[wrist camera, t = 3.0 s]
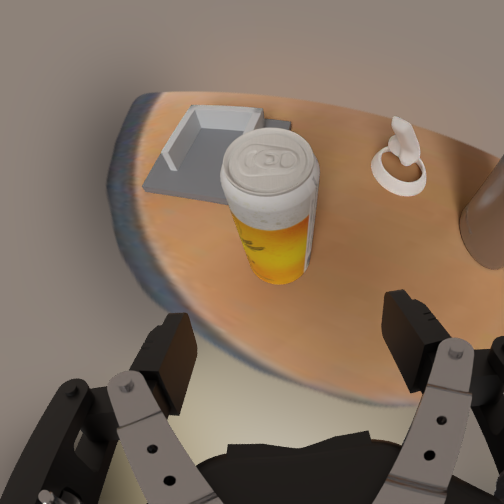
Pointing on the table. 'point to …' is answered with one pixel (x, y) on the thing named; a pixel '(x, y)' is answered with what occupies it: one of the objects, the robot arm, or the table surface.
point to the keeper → (203, 151)
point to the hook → (408, 153)
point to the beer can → (273, 200)
